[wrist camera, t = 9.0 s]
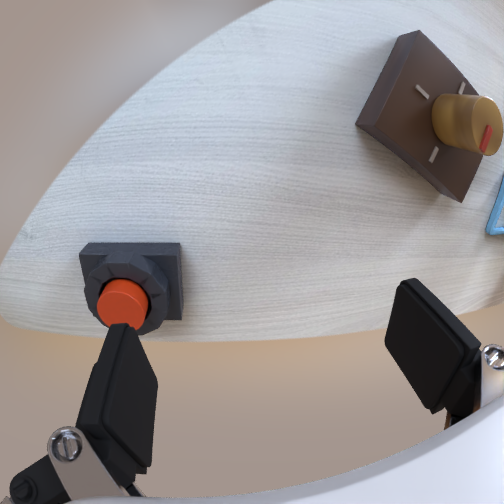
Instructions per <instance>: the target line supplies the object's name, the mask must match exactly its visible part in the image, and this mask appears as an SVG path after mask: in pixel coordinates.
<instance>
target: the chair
mask: <svg viewBox="0 0 504 504" xmlns="http://www.w3.org/2000/svg"><path fill="white" fill-rule="evenodd" d="M503 205H504V177H503V181H502V185H501V188H500V191H499V194H498V197H497V200H496V203H495V205H494V208H493V211H492V213H491V216H490V219H489V221H488V224H487V227H486V232H487V233H488V234H490V235H498V234H504V227H498V228H495V225H496V223H497V220H498V218H499V216H500V213H501V210H502V208H503Z"/></svg>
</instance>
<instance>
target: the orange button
mask: <svg viewBox="0 0 504 504" xmlns="http://www.w3.org/2000/svg"><path fill="white" fill-rule="evenodd" d="M147 309H148V297H147V295H146V293H145V291H144V290H143V289H142V287H140V286H139V285H138V284H137V283H135V282H133V281H131V280H128V279H115V280H113V281H111V282H109V283H108V284H107V285H106V287H105V288H104V290H103V292H102V294H101V296H100V298H99V300H98V303H97V311H98V314H99V316H100V318H101V319H102V321H103V322H104V323H105V324H106V325H107V326H109V327H110V326H111V324H117V323H128V324H129V326H130V327H134V328H135V330H137V329H139V328H140V327H141V326H142V324H143V322H144V319H145V316H146V312H147Z"/></svg>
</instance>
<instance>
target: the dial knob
mask: <svg viewBox="0 0 504 504" xmlns="http://www.w3.org/2000/svg"><path fill="white" fill-rule="evenodd" d="M432 124H433V128H434V131H435V133H436V135H437V137H438V138H439V139H440V140H441V141H442V142H443V143H444V144H446V145H449V146H453V147H457V148H461V149H465V150H468V151H472V152H476V153H479V154H483V155H486V156H491V155H493V154H495V153H496V152H497V150H498V149H499V147H500V145H501V142H502V137H503V122H502V117H501V114H500V111H499V109H498V107H497V105H496V104H495V102H494V101H493V100H492V99H490V98H489V97H487V96H478V95H463V94H442V95H440V96H439V97H438V98H437V99H436V100H435V102H434V104H433V108H432Z"/></svg>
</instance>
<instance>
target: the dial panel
mask: <svg viewBox="0 0 504 504" xmlns="http://www.w3.org/2000/svg"><path fill="white" fill-rule="evenodd" d="M442 94H463V95H478V96H479V94H478V93H477V92H476V90H475V89H474V88H473V87H472V85H471V84H470V83H469V82H468V80H467V79H466V78H465V77H464V76H463V74H462V73H461V72H460V71H459V70H458V69H457V68H456V66H455V65H454V64H453V63H452V62H451V61H450V60H449V59H448V58H447V57H446V56H445V54H444V53H443V52H442V51H441V50H440V49H439V48H438V47H437V46H436V45H435V44H434V43H433V42H432V41H431V40H430V39H429V38H428V37H426V36H425V35H424V34H423V33H422V32H421V31H420V30H417V31H414V32H410V33H407V34H404V35H401V36H399V37H398V39H397V41H396V43H395V46H394V48H393V50H392V52H391V54H390V56H389V58H388V60H387V62H386V64H385V66H384V68H383V70H382V72H381V74H380V76H379V78H378V80H377V82H376V84H375V86H374V88H373V90H372V92H371V94H370V96H369V98H368V100H367V102H366V104H365V106H364V107H363V109H362V111H361V113H360V115H359V117H358V119H357V121H356V123H355V124H356V125H357V126H359V127H360V128H362V129H363V130H364V131H366V132H367V133H369V134H370V135H371V136H373V137H374V138H375V139H377V140H378V141H379V142H381V143H382V144H383V145H385V146H386V147H387V148H389V149H390V150H391V151H393V152H394V153H395V154H396V155H398V156H399V157H400V158H401V159H403V160H404V161H405V162H406V163H408V164H409V165H410V166H411V167H412V168H413V169H415V170H416V171H417V172H418V173H419V174H420V175H422V176H423V177H424V178H425V179H426V180H427V181H428V182H430V183H431V184H432V185H433V186H434V187H435V188H436V189H437V190H438V191H439V192H440V193H441V194H443V195H445V196H447V197H450V198H452V199H454V200H456V201H458V202H460V203H462V201H463V199H464V197H465V195H466V193H467V191H468V189H469V187H470V185H471V183H472V180H473V178H474V176H475V174H476V171H477V169H478V167H479V164H480V162H481V160H482V157H483V154H479V153H476V152H472V151H468V150H465V149H461V148H457V147H453V146H449V145H446V144H444V143H443V142H442V141H441V140H440V139H439V138H438V137H437V135H436V133H435V131H434V128H433V124H432V108H433V104H434V102H435V100H436V99H437V98H438V97H439V96H440V95H442Z"/></svg>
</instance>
